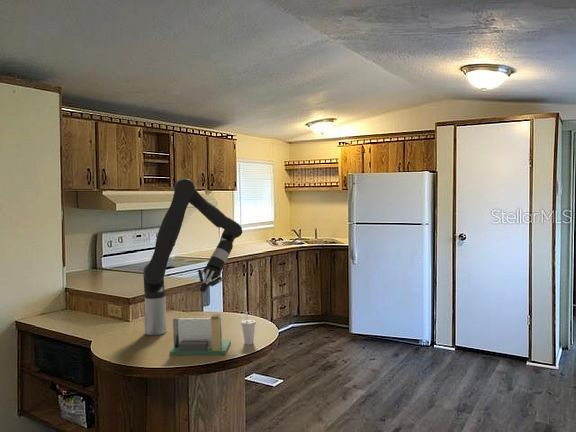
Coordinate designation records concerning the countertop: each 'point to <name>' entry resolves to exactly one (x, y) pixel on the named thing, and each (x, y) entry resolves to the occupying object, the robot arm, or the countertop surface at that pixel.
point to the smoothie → (248, 330)
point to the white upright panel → (193, 330)
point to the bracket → (205, 343)
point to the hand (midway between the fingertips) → (201, 291)
